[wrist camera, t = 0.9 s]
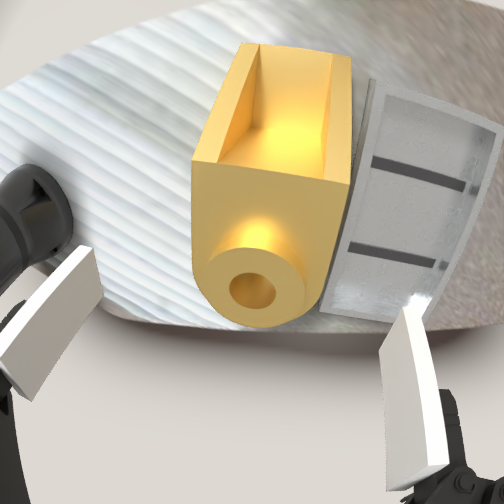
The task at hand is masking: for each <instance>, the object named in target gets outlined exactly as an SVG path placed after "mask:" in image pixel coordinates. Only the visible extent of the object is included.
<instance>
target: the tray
mask: <svg viewBox="0 0 504 504" xmlns="http://www.w3.org/2000/svg"><path fill="white" fill-rule="evenodd" d="M503 138H504V126H502V125H500V124H498V123H496V122H494V121H492V120H489V119H487V118H485V117H483V116H480V115H478V114H476V113H473V112H471V111H468V110H466V109H463V108H461V107H458V106H456V105H453V104H450V103H448V102H445V101H442V100H439V99H437V98H434V97H431V96H428V95H425V94H422V93H419V92H416V91H412V90H409V89H406V88H403V87H399V86H396V85H392V84H389V83H385V82H381V81H377V80H373V79H370V80H369V86H368V92H367V98H366V103H365V109H364V114H363V119H362V124H361V129H360V134H359V139H358V144H357V149H356V154H355V158H354V163H353V167H352V172H351V176H350V186H349V191H348V195H347V199H346V203H345V207H344V212H343V216H342V220H341V224H340V228H339V231H338V235H337V239H336V243H335V247H334V250H333V254H332V258H331V262H330V265H329V269H328V272H327V276H326V279H325V283H324V286H323V290H322V293H321V295H320V302H319V312H325V313H331V314H337V315H343V316H349V317H356V318H362V319H369V320H375V321H382V322H389V323H394V322H395V320H396V318H397V316H398V314H399V312H400V310H401V308H402V307H409V308H415V309H419V312H420V315H421V319H422V323H423V326H424V324H425V323H426V321H427V319H428V317H429V316H430V314H431V312H432V310H433V309H434V307H435V305H436V303H437V301H438V300H439V298H440V296H441V294H442V292H443V290H444V288H445V286H446V285H447V283H448V281H449V279H450V277H451V275H452V273H453V271H454V269H455V267H456V264H457V262H458V260H459V258H460V256H461V254H462V252H463V250H464V247H465V245H466V243H467V241H468V238H469V236H470V234H471V231H472V229H473V227H474V224H475V222H476V219H477V217H478V214H479V212H480V209H481V206H482V204H483V201H484V198H485V196H486V193H487V190H488V187H489V184H490V181H491V178H492V175H493V172H494V169H495V166H496V163H497V159H498V156H499V153H500V149H501V146H502V142H503Z"/></svg>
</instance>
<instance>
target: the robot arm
mask: <svg viewBox="0 0 504 504" xmlns="http://www.w3.org/2000/svg"><path fill="white" fill-rule="evenodd" d="M72 230H73V222H72V215H71V211H70V207H69V204H68V202H67V199H66V197H65V195H64V193H63V191H62V189H61V188H60V186H59V185H58V183H57V182H56V181H55V180H54V178H53V177H52V176H51V175H50V174H49V173H47V172H46V171H45V170H44V169H42V168H40V167H38V166H36V165H32V164H25V165H22V166H20V167H18V168H16V169H15V170H13V171H11V172H10V173H9V174H8V175H7V176H6V177H5V178H4V180H3V181H2V182H1V183H0V296H1V295H2V294H3V293H4V292H5V291H6V289H7V288H8V287H9V286H10V285H11V284H12V283H13V282H14V281H15V279H16V278H18V277H19V275H20V274H21V273H22V272H23V271H24V270H25V269H26V268H27V267H29V266H31V265H34V264H36V263H38V262H41V261H43V260H46V259H48V258H51V257H53V256H55V255H56V254H58V253H59V252H60V251H61V250H62V249H63V248H64V247H65V246H66V245H67V244H68V243H69V241H70V239H71V236H72ZM103 296H104V293H103V289H102V285H101V281H100V277H99V272H98V268H97V264H96V259H95V255H94V250H93V248H91V247H87V246H82V245H80V246H79V247H78V248H77V249H76V250H74V252H73V253H72V254H71V255H70V256H69V257H68V258H67V259H66V260H65V261H64V262H63V263H62V264H61V265H60V266H59V267H58V268H57V269H56V270H55V271H54V272H53V273H52V274H51V275H50V276H49V277H48V278H47V280H46V281H45V282H44V283H43V284H42V285H41V286H40V287H39V288H38V290H37V291H36V292H35V293H34V294H33V295H32V296H31V297H30V298H29V300H28V301H26V300H23V301H22V302H20V303H18V304H17V305H15V306H14V307H13V309H12V310H11V311H10V312H9V313H8V314H7V317H5V318H4V319H3V320H2V323H0V504H31V503H30V499H29V495H28V492H27V487H26V484H25V479H24V475H23V470H22V465H21V460H20V455H19V449H18V443H17V436H16V429H15V421H14V412H13V401H12V394H11V391H10V389H11V387H12V386H13V388H14V389H15V390H16V391H17V392H18V394H19V395H21V396H23V397H24V398H26V399H28V400H29V401H31V402H32V400H33V399H34V397H35V395H36V394H37V392H38V391H39V389H40V387H41V386H42V384H43V383H44V381H45V379H46V378H47V376H48V375H49V373H50V372H51V370H52V369H53V367H54V365H55V364H56V362H57V361H58V359H59V358H60V356H61V355H62V353H63V352H64V350H65V349H66V347H67V346H68V345H69V343H70V342H71V340H72V339H73V337H74V336H75V334H76V333H77V332H78V330H79V329H80V327H81V326H82V324H83V323H84V322H85V320H86V319H87V317H88V316H89V315H90V313H91V312H92V311H93V309H94V308H95V306H96V305H97V304H98V302H99V301H100V300H101V298H102V297H103ZM379 357H380V367H381V377H382V387H383V401H384V416H385V435H386V436H385V438H386V491H404V490H407V489H409V488H411V487H412V486H414V493H412V494H410V495H408V496H406V497H404V498H403V499H402V500H401V501H400V502H404V501H406V502H405V503H404V504H504V477H502V478H500V479H498V480H496V481H493V480H488V479H484V478H479V477H477V476H476V473H475V472H474V471H473V470H472V469H471V468H469V467H468V466H467V464H466V459H465V451H464V444H463V438H462V432H461V426H460V420H459V416H458V410H457V405H456V401H455V399H454V397H453V396H452V394H451V392H450V390H449V389H447V390H446V389H438V385H437V381H436V375H435V372H434V366H433V362H432V358H431V354H430V349H429V345H428V341H427V337H426V334H425V330H424V326H423V323H422V319H421V315H420V312H419V309H415V308H409V307H402V308H401V310H400V312H399V314H398V316H397V318H396V320H395V322H394V324H393V326H392V328H391V329H390V331H389V333H388V335H387V337H386V339H385V340H384V342H383V344H382V346H381V347H380V349H379Z"/></svg>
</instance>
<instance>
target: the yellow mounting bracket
mask: <svg viewBox="0 0 504 504" xmlns="http://www.w3.org/2000/svg"><path fill="white" fill-rule="evenodd" d="M351 141H352V81H351V57H347V56H342V55H337V54H332V53H326V52H321V51H314V50H308V49H301V48H294V47H285V46H276V45H266V44H254V43H241V45H240V47H239V49H238V52H237V54H236V56H235V58H234V60H233V62H232V64H231V67H230V69H229V71H228V73H227V75H226V78H225V80H224V82H223V84H222V87H221V89H220V91H219V94H218V96H217V98H216V101H215V103H214V105H213V108H212V110H211V113H210V115H209V117H208V120H207V122H206V125H205V127H204V130H203V132H202V135H201V137H200V140H199V142H198V145H197V147H196V150H195V153H194V155H193V158H192V168H191V239H192V270H193V275H194V279H195V281H196V284H197V286H198V288H199V290H200V291H201V293H202V294H203V295H204V297H205V298H206V299H207V300H208V302H209V303H210V305H211V306H212V307H213V308H214V309H215V310H216V311H217V312H218V313H219V314H221V315H222V316H223V317H225V318H226V319H228V320H230V321H232V322H234V323H237V324H240V325H243V326H247V327H253V328H269V327H274V326H278V325H281V324H283V323H285V322H288V321H291V320H294V319H296V318H298V317H300V316H302V315H303V314H305V313H306V312H307V311H308V310H310V309H311V308H312V307H313V306H314V304H315V303H316V302H317V300H318V299H319V297H320V295H321V293H322V290H323V286H324V283H325V279H326V276H327V272H328V269H329V265H330V262H331V258H332V254H333V250H334V247H335V243H336V239H337V235H338V231H339V228H340V224H341V220H342V216H343V212H344V207H345V203H346V199H347V195H348V191H349V186H350V172H351Z"/></svg>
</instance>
